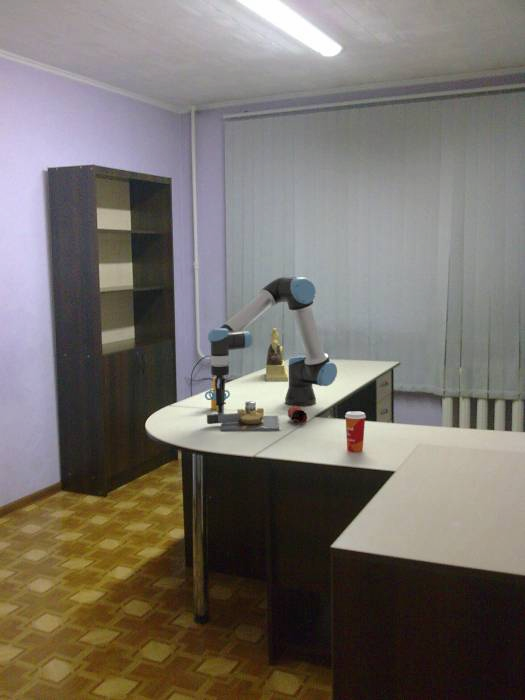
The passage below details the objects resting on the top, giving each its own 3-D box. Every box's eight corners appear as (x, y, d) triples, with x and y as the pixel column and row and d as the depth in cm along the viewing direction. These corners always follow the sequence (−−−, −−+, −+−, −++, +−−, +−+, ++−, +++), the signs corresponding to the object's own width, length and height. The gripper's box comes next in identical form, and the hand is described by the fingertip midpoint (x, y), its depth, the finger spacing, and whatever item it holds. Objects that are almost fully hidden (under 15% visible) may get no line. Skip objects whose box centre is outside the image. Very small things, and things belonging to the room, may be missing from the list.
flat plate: (277, 417, 318) (277, 396, 317) (279, 431, 293) (279, 408, 292) (223, 418, 318) (223, 397, 316) (220, 431, 293) (220, 408, 292)
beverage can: (302, 418, 316) (302, 404, 316) (307, 425, 305) (307, 409, 304) (286, 419, 315) (286, 404, 315) (290, 425, 304) (290, 410, 303)
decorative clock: (288, 381, 414) (288, 329, 410) (266, 381, 414) (265, 330, 411) (287, 373, 442) (287, 325, 438) (266, 373, 442) (266, 325, 438)
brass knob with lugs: (259, 418, 312) (259, 405, 312) (266, 423, 302) (266, 410, 301) (205, 421, 306) (205, 408, 306) (209, 427, 296) (209, 414, 295)
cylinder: (225, 411, 332) (224, 379, 330) (203, 410, 334) (203, 379, 332) (231, 406, 343) (231, 375, 342) (210, 405, 345) (210, 374, 344)
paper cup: (342, 447, 267) (342, 411, 265) (362, 447, 268) (363, 410, 266) (346, 453, 259) (347, 415, 257) (367, 452, 260) (368, 415, 258)
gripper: (213, 362, 308) (214, 416, 311) (208, 367, 295) (209, 423, 299) (230, 362, 307) (231, 416, 311) (226, 367, 295) (227, 423, 298)
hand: (220, 419), depth 305 cm, fingers closed
